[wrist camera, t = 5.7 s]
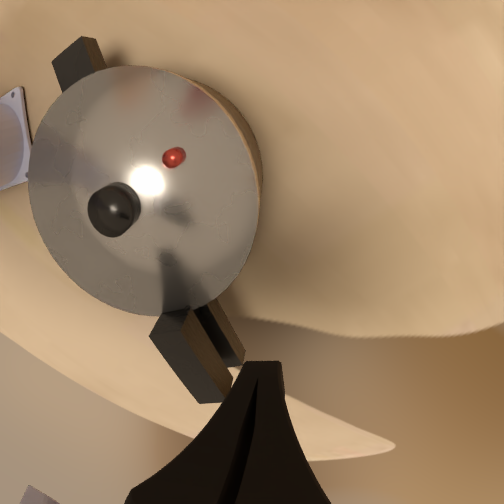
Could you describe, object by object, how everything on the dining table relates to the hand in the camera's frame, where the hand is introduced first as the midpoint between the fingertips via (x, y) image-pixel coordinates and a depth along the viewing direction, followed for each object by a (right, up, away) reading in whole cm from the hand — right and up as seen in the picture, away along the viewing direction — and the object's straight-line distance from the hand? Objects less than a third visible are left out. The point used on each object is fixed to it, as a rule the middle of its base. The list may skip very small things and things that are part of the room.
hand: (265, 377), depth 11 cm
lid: (-7, +5, +5) cm, 10 cm away
